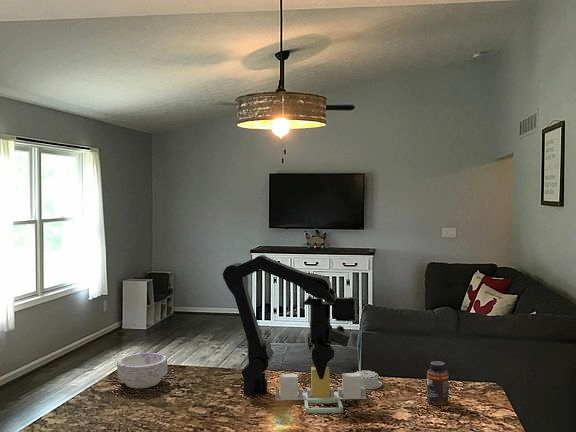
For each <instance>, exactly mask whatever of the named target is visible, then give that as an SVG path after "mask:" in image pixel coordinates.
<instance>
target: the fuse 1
mask: <svg viewBox="0 0 576 432" xmlns="http://www.w3.org/2000/svg"><path fill="white" fill-rule="evenodd" d="M279 376H280V377H279V382H280V384H279V393H280V398H298V393H299V376H298V373H280V374H279Z"/></svg>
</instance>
